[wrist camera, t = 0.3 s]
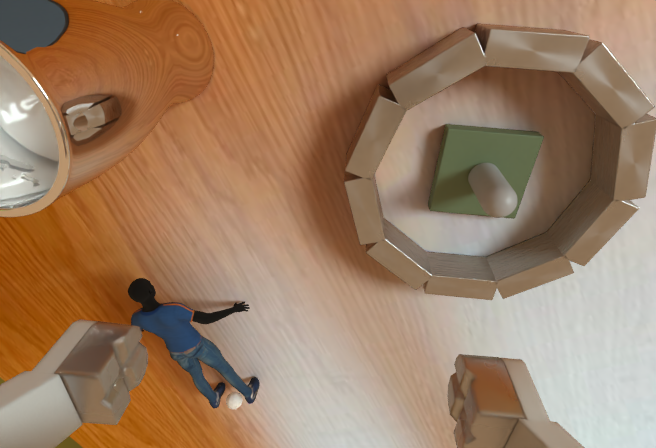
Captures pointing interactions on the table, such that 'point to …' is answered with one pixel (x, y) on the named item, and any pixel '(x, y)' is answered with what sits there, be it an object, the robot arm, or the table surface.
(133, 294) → the person figurine
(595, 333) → the table surface
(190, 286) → the table surface
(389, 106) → the ring
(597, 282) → the table surface
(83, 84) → the brown wooden rounded piece
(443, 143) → the peg stand
